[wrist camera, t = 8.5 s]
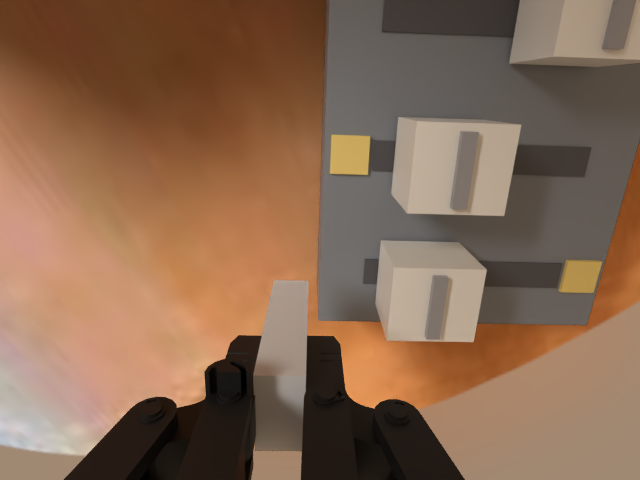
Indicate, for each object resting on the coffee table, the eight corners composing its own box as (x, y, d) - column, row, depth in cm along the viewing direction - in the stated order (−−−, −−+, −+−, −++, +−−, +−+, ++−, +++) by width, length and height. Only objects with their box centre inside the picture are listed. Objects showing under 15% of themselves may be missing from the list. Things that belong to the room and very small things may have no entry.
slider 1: (391, 193, 20) (408, 215, 16) (398, 116, 19) (418, 121, 15) (472, 196, 20) (507, 218, 16) (484, 119, 19) (525, 125, 15)
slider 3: (508, 63, 18) (558, 55, 14) (525, -32, 17) (583, -66, 13) (597, 66, 18) (668, 59, 15) (620, -27, 17) (702, -60, 13)
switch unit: (317, 281, 27) (318, 322, 22) (327, -36, 21) (332, -76, 16) (539, 286, 28) (589, 327, 23) (611, -23, 22) (699, -58, 17)
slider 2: (375, 303, 22) (387, 344, 18) (380, 240, 21) (395, 270, 17) (449, 305, 22) (476, 345, 18) (458, 242, 21) (489, 272, 17)
